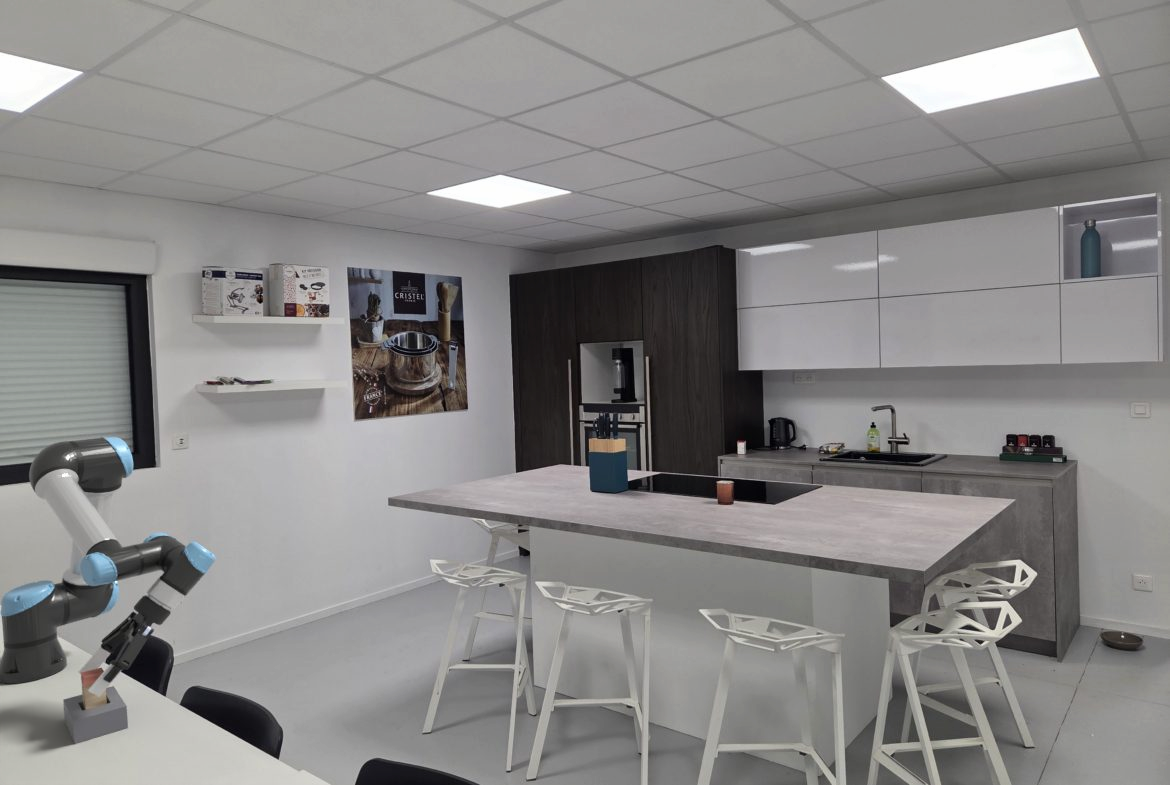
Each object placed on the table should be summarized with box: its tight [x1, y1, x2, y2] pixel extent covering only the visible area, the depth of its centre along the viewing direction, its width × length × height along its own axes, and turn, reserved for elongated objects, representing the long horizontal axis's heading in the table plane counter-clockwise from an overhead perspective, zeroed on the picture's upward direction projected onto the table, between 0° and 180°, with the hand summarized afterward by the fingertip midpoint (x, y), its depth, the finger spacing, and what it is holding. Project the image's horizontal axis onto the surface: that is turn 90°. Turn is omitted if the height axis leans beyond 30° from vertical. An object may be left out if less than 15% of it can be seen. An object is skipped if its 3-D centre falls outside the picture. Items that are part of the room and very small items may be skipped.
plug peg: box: [80, 666, 107, 710], centre depth 171 cm, size 4×4×12 cm
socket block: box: [63, 685, 129, 745], centre depth 172 cm, size 15×10×5 cm, turn 41°
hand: (88, 684), depth 170 cm, fingers open, 13 cm apart
